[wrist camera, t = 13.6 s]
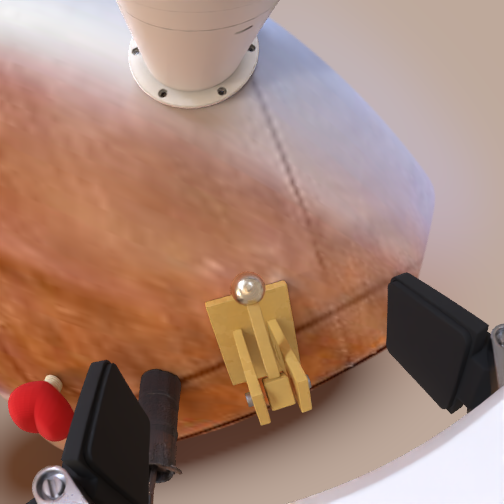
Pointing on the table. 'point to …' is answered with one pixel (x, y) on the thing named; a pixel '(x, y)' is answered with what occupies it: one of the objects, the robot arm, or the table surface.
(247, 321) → the bracket
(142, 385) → the butter churn
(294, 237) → the table surface
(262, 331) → the switch lever
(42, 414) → the red rounded lump
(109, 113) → the table surface
